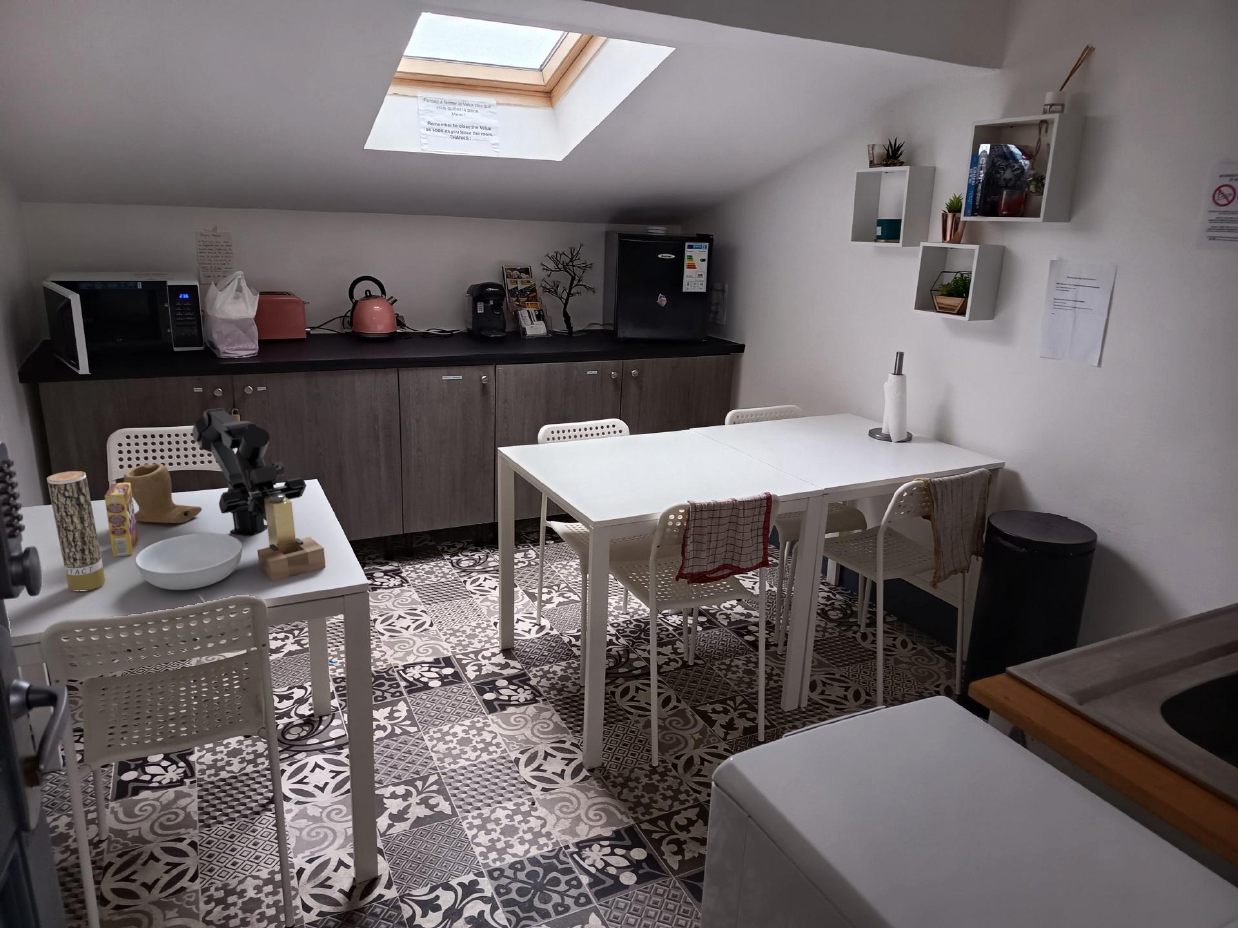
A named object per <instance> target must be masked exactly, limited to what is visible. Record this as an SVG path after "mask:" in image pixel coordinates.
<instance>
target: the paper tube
mask: <svg viewBox="0 0 1238 928" xmlns="http://www.w3.org/2000/svg"><path fill="white" fill-rule="evenodd" d="M86 474H87V473H86V472H85V471H81V470H80V471H78V470H71V471H64V472H58V473H55V474H52V475H50V476H48V477H47V478H46V481H47V487H48V492H49V496H50V502H51V503H50V504H51V506H52V507H51V508H52V511H53V517H54V522H55V526H56V531H57V532H56V533H57V537H58V541H59V545H60V552H61V556H62V560H63V561H62V562H63V566H64V571H65V574H66V575H65V576H66V581H67V587H68V588H69V590H70V591H72V590H79V591H80V590H90V591H92V590H91V589H93V590H96V589H98V588H100V587H102V586H103V585H104V584H105V582H106V577H105V571H104V567H103V560H102V554H101V548H100V544H99V537H98V532H97V527H96V522H95V517H94V511H93V507H92V506H93V505H92V501H91V500H92V499H91V495H90V489H89V484H88V483H89V482H88V479H87V475H86ZM101 585H102V586H101ZM97 587H98V588H97ZM95 588H96V589H95Z"/></svg>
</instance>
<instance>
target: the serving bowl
mask: <svg viewBox="0 0 1238 928" xmlns="http://www.w3.org/2000/svg"><path fill="white" fill-rule="evenodd" d="M242 555H243V544H242V542H241V541H240V540H239V539H238V538H237V537H234V536H231V535H229V534H224V533H216V532H215V533H214V532H213V533H212V532H211V533H210V532H205V533H204V532H202V533H192V534H191V533H190V534H184V535H179V536H174V537H171V538H165V539H163V540H161V541H157V542H155V543H152V544H150V545H148V546H147V547H145V548H143V549H142V550H140V552H139V553H138V554H137V555H136V557H135V565H136V568H137V570H138V572H139V574H140V575H141V577H142V578H143V579H144V580H145V581H146V582H148V583H149V584H151V585H153V586H155V587H157V588H160V589H165V590H171V591H184V590H192V589H193V590H194V589H199V588H203V587H204V588H205V587H207V586H211V585H213V584H216V583H217V582H220V581H223V580H224V579H225V578H227V577H228V576H229V575H231V574H232V573H233V572H234V571H235V570H236V569H237V567H238V566H239V564H240V562H241V560H242V559H241V558H242Z"/></svg>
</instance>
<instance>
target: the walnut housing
mask: <svg viewBox="0 0 1238 928" xmlns="http://www.w3.org/2000/svg"><path fill="white" fill-rule="evenodd" d="M295 538H296V537H295ZM296 548H297V552H294V553H290V554H286V555H284V554H283V553H281V552H280V551H279V548H278V547H277V546H276V545H274V544H271V545H268V547H263V548H261V549H257V559H258V566H259V570H260V571H261V572H262V573H263V575H265V576H266V578H268V579H269V580H270V581H271V582H277V581H280V580H284V579H287V578H291V577H294V576H298V575H302V574H306V573H308V572H313V571H316V570H320V569H323V568H326V566H327V565H326V558H325V548H324V547H323V546H322V545H320V544H319V543H318V542H317V541H316V540H315V539H313V538H312V537H311V536H310V537H304V538H299V537H297V538H296Z"/></svg>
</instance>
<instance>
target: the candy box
mask: <svg viewBox="0 0 1238 928" xmlns="http://www.w3.org/2000/svg"><path fill="white" fill-rule="evenodd" d="M104 502H105V508H106V516H107V523H108V529H109V536H110V543H111V544H110V545H111V551H112V556H113V557H114V556H116V557H126V556H132V555H133V553H134V551H135V549H136V547H137V545H138V543H139V535H138V534H139V533H138V527H137V521H136V519H135V513H136V512H135V508H134V499H133V497H132V492H131V484H130V483H124V482H118V483H112V484H111V485H110V487H109V488H108V490H107V491H106V493H105V495H104Z"/></svg>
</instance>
